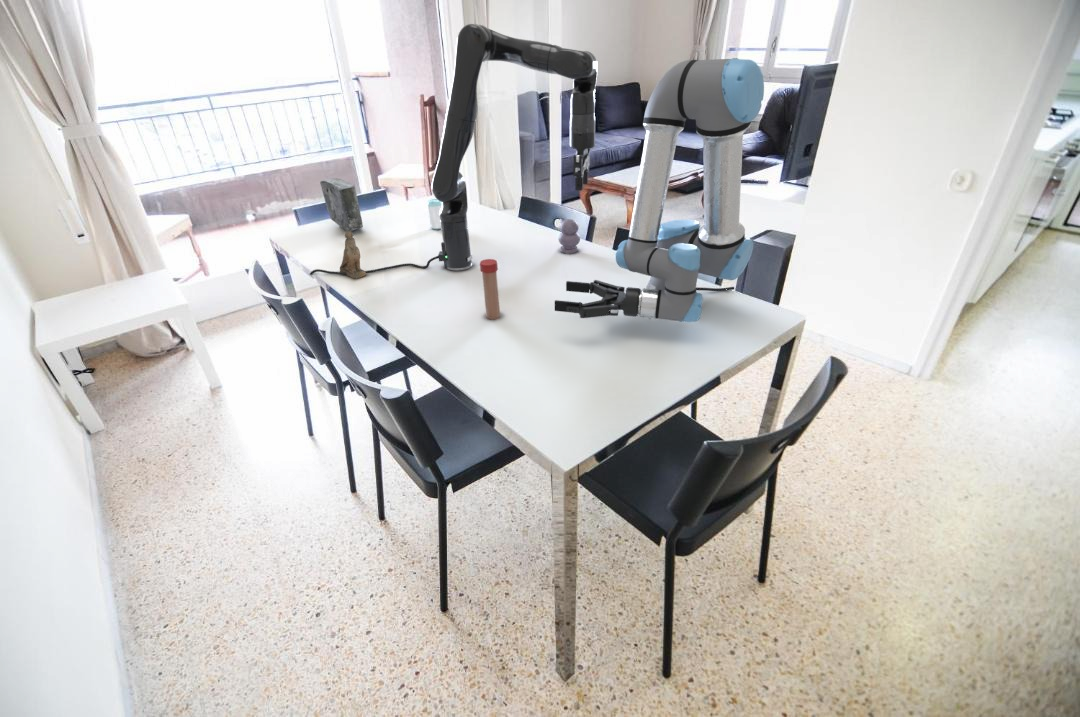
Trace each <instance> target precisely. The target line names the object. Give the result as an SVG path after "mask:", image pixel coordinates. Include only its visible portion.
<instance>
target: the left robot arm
mask: <svg viewBox="0 0 1080 717" xmlns="http://www.w3.org/2000/svg"><path fill="white" fill-rule="evenodd" d="M454 56H455V57H454V58H455V59H454V70H453V75H452V76H453V78H452V81H451V82H452V83H451V87H450V91H449V99H448V103H447V108H446V113H445V119H444V125H443V132H442V137H441V142H440V149H439V155H438V160H437V164H436V166H435V171H434V173H433V177H432V182H431V191H432V194H433V197H434V198H435V199H437V200H439V201H440V202H443V203H442V208H441V211H440V214H439V215H440V223H441V229H440V230H441V235H442V242H441V243H440V246H441V250H439V252H438V255H436V256H434V257H431V258H430V259H428V260H427V263H426V265H423V266H422V265H418V264H416V263H411V262H410V263H408V262H407V263H401V264H396V265H390V266H385V267H380V268H374V269H370V270H364V271H365V273H366V274H372V273H376V272H377V273H378V272H382V271H386V270H387V271H388V270H392V269H396V268H397V269H398V268H402V267H415V268H417V269H423V270H424V269H428V268H429V267H430V264H431V262H433V261H435V260H437V259H438V262H443V267H444V269H445V270H449V271H454V272H459V271H467V270H469V269H471V268H472V266H473V260H472V259H473V254H472V250H471V242H470V234H469V224H468V216H467V213H468V209H469V208H468V207H469V206H468V191H467V183H466V180H465V178H464V176H463V174H462V173H461V172H460V169H461V165H462V162H463V159H464V156H465V155H466V152H467V150H468V149H469V147H470V144H471V141H472V140H473V137H474V133H475V128H476V124H477V119H478V110H479V109H478V108H479V107H478V106H479V105H478V81H479V77H480V73H481V68H482V65H483V63H485V62H490V61H491V62H506V63H511V64H515V65H518V66H520V67H524V68H526V69H530V70H533V71H537V72H541V73H544V74H545V73H546V74H550V75H557V76H561V77H563V78H568V79H570V80H572V91H571V95H570V112H569V113H570V117H569V148H571V149H574V150H576V151H575V152H576V153H575V154H573V155H572V156H573V157H572V158H573V171H572V172H573V173H572V175H573V177H574V178H575V180H574V182H575V185H574V186H575V188H574V189H575V190H576V191H583V189H584V185H588V183H589V172H590V167H591V149H594V147H595V144H596V116H595V114H596V113H595V108H596V99H595V98H596V94H595V93H596V87H597V86H596V85H597V77H598V60H597V57H596V56H595V54H594V53H592V51H589V50H578V49H572V48H566V47H562V46H560V45H557V44H552V43H549V42H543V41H538V40H530V39H522V38H516V37H512V36H509V35H505V34H503V33H501V32H498V31H496V30H493V29H491V28H488V27H486V26H485V25H483V24H477V23H468V24H466V25H464V26H462V28H461V29H460V31H459V32H458V35H457V38H456V45H455V55H454ZM315 273H324V274H329V275H341V276H347V273H345V272H340V271H334V270H333V271H332V270H326V269H320V268H317V269H313V270H312V271H310V272H309V275H310V276H312V275H314V274H315Z"/></svg>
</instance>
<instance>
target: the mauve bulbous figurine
mask: <svg viewBox="0 0 1080 717" xmlns="http://www.w3.org/2000/svg"><path fill="white" fill-rule="evenodd" d="M559 221H560V225H559V229H560V232H561V233H560V234H559V235H558V243H559V244H560V245H561V246H560V252H561V253H563V254H574V253H575V254H576V253H577V252H578V245H579V243H580V242H581V236H580V234H579V233H578V231H579V229H580V228H579V224H578V222H577V221H576V220H574V219H571V218H568V219H563V218H559Z"/></svg>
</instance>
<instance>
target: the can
mask: <svg viewBox="0 0 1080 717" xmlns="http://www.w3.org/2000/svg"><path fill="white" fill-rule="evenodd" d="M442 203H443V202H440V201H439V200H437V199H436V198H432V199H428V201H427V204H426V207H427V211H428V212H427V213H428V219H429V226H430V228H431V229H433V230H442V229H441V223H440V215H439V214H440V211H441V208H442Z"/></svg>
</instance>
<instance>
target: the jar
mask: <svg viewBox="0 0 1080 717" xmlns="http://www.w3.org/2000/svg"><path fill="white" fill-rule="evenodd" d="M481 275H482V286H483V296H484V305H485V315H486V318H487V319H488V320H497V319H499V318H500V317H501V309H500V308H501V307H500V296H499V295H500V294H499V285H498V273H497V271H496V272H493V273H483V272H481Z"/></svg>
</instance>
